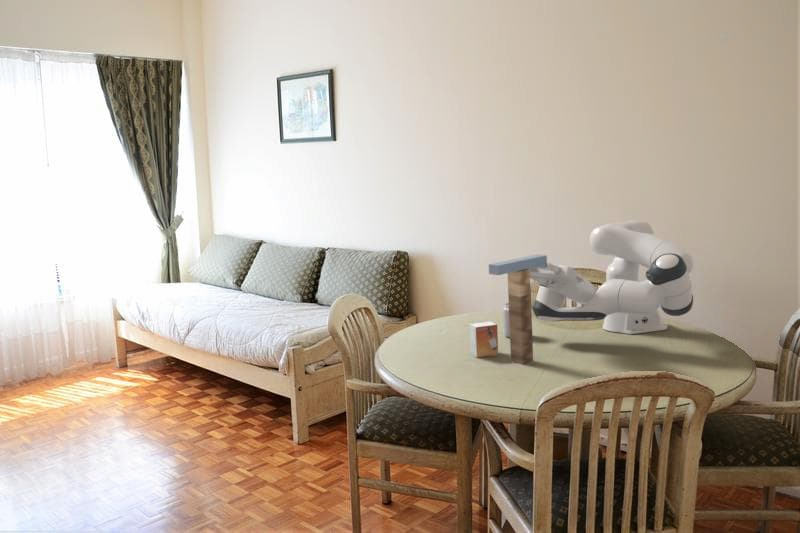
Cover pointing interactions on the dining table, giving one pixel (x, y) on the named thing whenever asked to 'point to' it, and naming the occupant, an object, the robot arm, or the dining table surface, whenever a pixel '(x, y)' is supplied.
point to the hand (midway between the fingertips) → (535, 263)
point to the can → (506, 320)
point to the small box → (484, 339)
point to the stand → (520, 316)
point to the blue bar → (517, 264)
